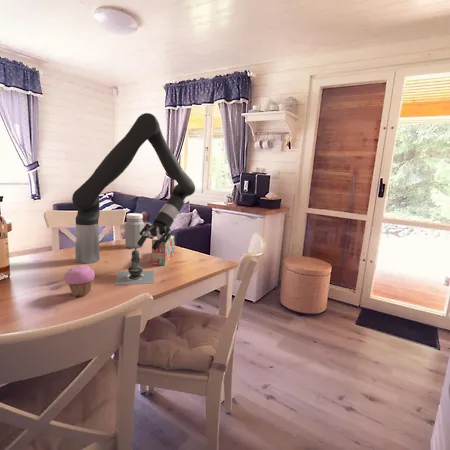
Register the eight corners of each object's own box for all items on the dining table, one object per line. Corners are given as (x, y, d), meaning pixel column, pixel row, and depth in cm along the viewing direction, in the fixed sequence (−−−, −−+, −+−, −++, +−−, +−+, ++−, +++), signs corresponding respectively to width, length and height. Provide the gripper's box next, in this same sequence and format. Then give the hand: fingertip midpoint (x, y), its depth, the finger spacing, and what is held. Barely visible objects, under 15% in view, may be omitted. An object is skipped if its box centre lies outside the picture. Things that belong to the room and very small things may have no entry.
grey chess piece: (146, 275, 117) (146, 247, 115) (137, 280, 112) (137, 250, 110) (133, 273, 119) (133, 245, 117) (124, 278, 114) (124, 248, 111)
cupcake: (98, 288, 103) (97, 262, 101) (91, 299, 95) (90, 270, 93) (71, 289, 101) (69, 262, 100) (61, 300, 93) (60, 270, 91)
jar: (122, 247, 156) (121, 214, 153) (130, 243, 166) (130, 212, 163) (138, 249, 155) (138, 216, 152) (146, 245, 164) (146, 213, 161)
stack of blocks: (162, 252, 152) (162, 229, 150) (174, 252, 152) (174, 230, 150) (151, 265, 131) (151, 238, 129) (165, 265, 131) (165, 239, 129)
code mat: (114, 285, 107) (114, 284, 107) (118, 272, 120) (118, 271, 120) (153, 283, 111) (153, 283, 110) (153, 271, 124) (153, 270, 124)
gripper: (150, 209, 126) (129, 239, 119) (174, 213, 119) (153, 245, 111) (159, 219, 132) (139, 249, 124) (182, 224, 124) (163, 255, 117)
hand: (146, 247), depth 118 cm, fingers open, 8 cm apart
